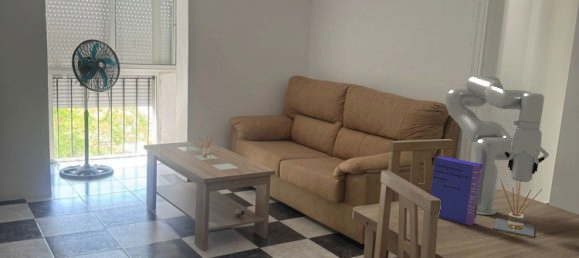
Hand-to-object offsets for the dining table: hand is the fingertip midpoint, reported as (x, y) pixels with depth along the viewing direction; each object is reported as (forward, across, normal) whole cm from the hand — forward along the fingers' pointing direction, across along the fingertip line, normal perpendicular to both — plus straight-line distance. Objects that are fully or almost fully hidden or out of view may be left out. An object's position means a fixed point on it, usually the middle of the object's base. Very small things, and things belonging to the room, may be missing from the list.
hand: (522, 171), depth 195 cm
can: (+4, 0, 0) cm, 4 cm away
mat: (+23, 0, 0) cm, 23 cm away
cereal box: (+23, -23, -4) cm, 33 cm away
